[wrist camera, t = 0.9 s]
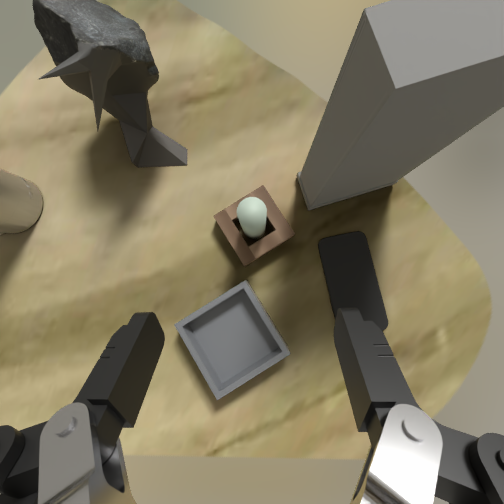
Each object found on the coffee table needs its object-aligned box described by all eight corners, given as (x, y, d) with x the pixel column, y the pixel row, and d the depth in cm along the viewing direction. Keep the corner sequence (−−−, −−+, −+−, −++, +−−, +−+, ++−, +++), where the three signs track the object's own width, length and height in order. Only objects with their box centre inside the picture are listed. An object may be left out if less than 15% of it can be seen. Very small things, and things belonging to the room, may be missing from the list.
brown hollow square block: (245, 266, 38) (244, 265, 35) (216, 219, 39) (213, 215, 36) (292, 236, 38) (295, 234, 35) (263, 190, 39) (263, 185, 36)
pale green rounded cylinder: (250, 243, 38) (246, 232, 28) (238, 224, 38) (231, 207, 29) (269, 231, 38) (272, 216, 28) (257, 213, 39) (256, 191, 29)
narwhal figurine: (187, 77, 41) (130, -75, 23) (187, 165, 40) (126, 74, 22) (104, 82, 42) (-14, -64, 24) (101, 168, 40) (-28, 82, 22)
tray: (221, 388, 36) (217, 400, 33) (182, 320, 37) (174, 324, 34) (287, 346, 36) (290, 353, 33) (246, 279, 38) (245, 280, 34)
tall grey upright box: (379, 149, 39) (590, -77, 14) (392, 185, 38) (638, 15, 13) (295, 175, 39) (356, -3, 14) (307, 211, 38) (393, 91, 13)
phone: (364, 229, 37) (390, 329, 36) (362, 230, 38) (387, 327, 36) (316, 239, 37) (340, 339, 36) (315, 240, 38) (338, 337, 37)
